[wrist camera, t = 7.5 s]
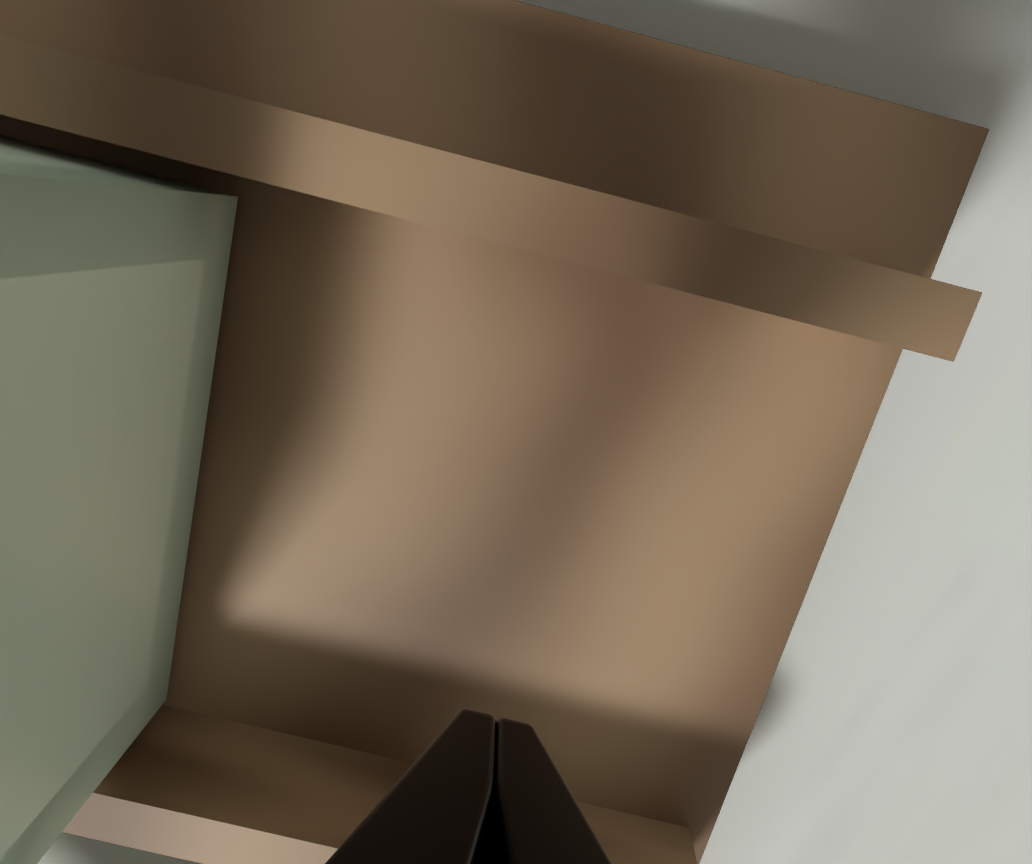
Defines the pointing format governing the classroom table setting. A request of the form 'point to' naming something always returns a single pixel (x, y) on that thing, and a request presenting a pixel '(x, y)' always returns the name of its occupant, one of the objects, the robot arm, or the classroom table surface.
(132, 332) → the sage green bevelled box
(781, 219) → the wooden serving tray
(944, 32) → the classroom table surface
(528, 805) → the robot arm
